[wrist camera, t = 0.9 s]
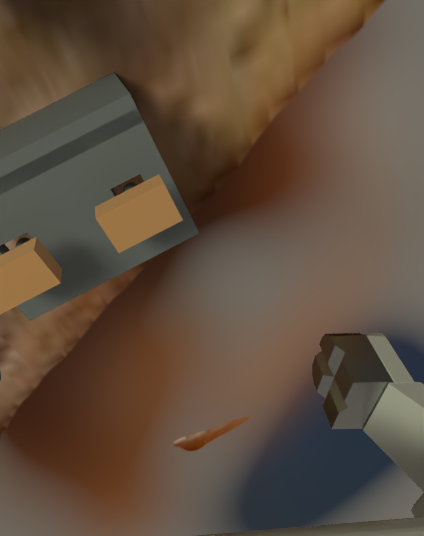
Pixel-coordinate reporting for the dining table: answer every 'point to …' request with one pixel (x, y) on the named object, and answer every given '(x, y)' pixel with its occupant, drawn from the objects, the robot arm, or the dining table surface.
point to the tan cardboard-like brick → (26, 273)
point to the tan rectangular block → (137, 213)
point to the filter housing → (80, 186)
